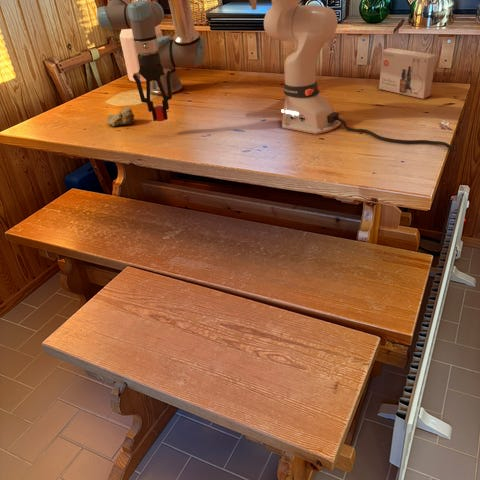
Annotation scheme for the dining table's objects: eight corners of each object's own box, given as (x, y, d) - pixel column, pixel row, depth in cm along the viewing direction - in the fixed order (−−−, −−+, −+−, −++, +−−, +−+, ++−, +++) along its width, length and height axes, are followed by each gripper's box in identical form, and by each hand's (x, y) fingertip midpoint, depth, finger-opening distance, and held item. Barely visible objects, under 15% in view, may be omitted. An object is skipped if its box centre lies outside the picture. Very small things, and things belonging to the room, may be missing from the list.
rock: (108, 124, 190) (108, 128, 182) (105, 108, 188) (104, 111, 179) (134, 120, 192) (135, 124, 184) (131, 104, 190) (132, 107, 181)
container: (160, 81, 233) (149, 21, 217) (121, 82, 238) (108, 23, 222) (174, 69, 249) (165, 13, 233) (138, 70, 254) (126, 15, 238)
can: (157, 117, 172) (155, 105, 169) (166, 117, 171) (164, 105, 169) (154, 121, 169) (152, 109, 166) (164, 121, 169) (162, 108, 166)
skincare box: (377, 89, 194) (381, 50, 185) (385, 86, 197) (389, 47, 188) (423, 99, 180) (429, 56, 171) (430, 95, 183) (437, 53, 174)
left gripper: (122, 58, 153) (137, 125, 166) (172, 52, 154) (183, 120, 167) (124, 52, 159) (138, 118, 173) (172, 47, 160) (183, 112, 173)
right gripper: (240, -33, 188) (243, 4, 195) (244, -29, 171) (247, 12, 179) (256, -35, 188) (258, 3, 196) (261, -31, 171) (263, 10, 179)
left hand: (160, 118), depth 170 cm, fingers closed on can, 4 cm apart
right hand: (253, 7), depth 187 cm, fingers open, 8 cm apart
